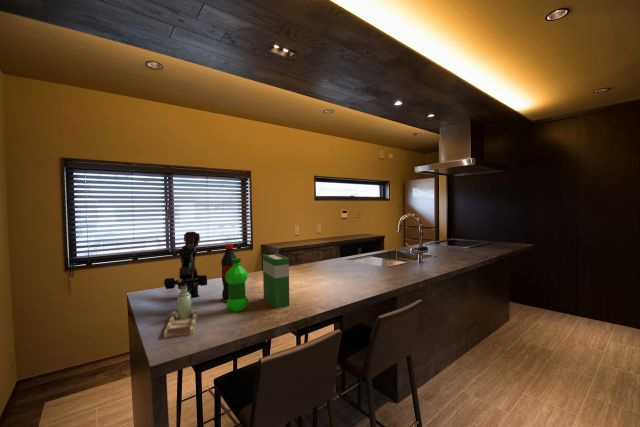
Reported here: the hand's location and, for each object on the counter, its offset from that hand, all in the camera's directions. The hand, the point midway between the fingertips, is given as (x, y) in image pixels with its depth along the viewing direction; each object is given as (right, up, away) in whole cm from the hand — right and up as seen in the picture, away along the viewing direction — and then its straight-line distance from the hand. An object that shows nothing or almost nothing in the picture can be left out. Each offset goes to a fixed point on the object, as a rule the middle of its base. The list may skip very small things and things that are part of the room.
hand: (185, 297), depth 136 cm
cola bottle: (+15, -7, +20) cm, 26 cm away
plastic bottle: (+23, -8, +5) cm, 25 cm away
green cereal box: (+40, -7, +16) cm, 43 cm away
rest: (+4, -8, -12) cm, 15 cm away
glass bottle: (+2, -8, -4) cm, 9 cm away
